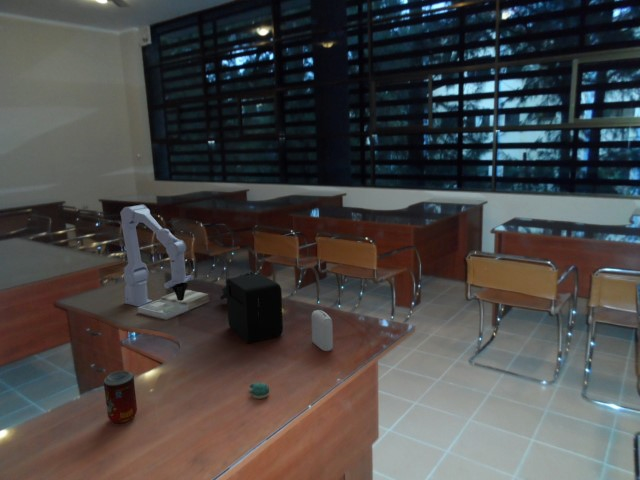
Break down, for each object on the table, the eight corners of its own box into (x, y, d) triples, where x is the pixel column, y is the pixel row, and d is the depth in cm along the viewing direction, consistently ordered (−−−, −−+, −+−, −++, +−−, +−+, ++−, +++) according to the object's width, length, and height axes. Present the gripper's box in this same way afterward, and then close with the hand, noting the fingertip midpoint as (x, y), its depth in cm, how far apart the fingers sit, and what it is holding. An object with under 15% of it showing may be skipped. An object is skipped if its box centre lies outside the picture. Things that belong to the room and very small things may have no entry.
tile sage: (171, 305, 198) (172, 309, 199) (162, 308, 194) (163, 313, 195) (180, 307, 196) (180, 311, 196) (171, 310, 192) (171, 315, 192)
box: (138, 313, 197) (137, 307, 196) (161, 304, 207) (160, 299, 207) (166, 320, 189) (166, 314, 188) (188, 310, 199) (188, 305, 198)
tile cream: (158, 301, 203) (158, 305, 204) (149, 305, 199) (149, 309, 200) (166, 303, 201) (166, 307, 201) (157, 306, 197) (157, 311, 197)
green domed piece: (254, 402, 128) (253, 390, 127) (244, 390, 134) (244, 378, 133) (273, 397, 130) (273, 384, 130) (263, 385, 137) (263, 373, 136)
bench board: (161, 304, 207) (161, 297, 206) (183, 296, 218) (183, 289, 217) (187, 310, 199) (187, 302, 198) (209, 301, 210) (208, 294, 209)
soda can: (103, 420, 120) (98, 376, 118) (129, 408, 126) (124, 366, 123) (116, 430, 116) (111, 385, 114) (143, 417, 121) (138, 374, 119)
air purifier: (286, 336, 171) (284, 284, 167) (248, 345, 163) (246, 291, 159) (263, 319, 188) (261, 271, 184) (228, 327, 180) (225, 277, 176)
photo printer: (310, 341, 166) (309, 308, 164) (321, 339, 168) (320, 306, 165) (323, 352, 157) (322, 317, 155) (334, 350, 159) (334, 315, 156)
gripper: (171, 274, 189) (174, 306, 191) (197, 266, 201) (199, 296, 204) (159, 272, 192) (162, 304, 195) (185, 264, 204) (188, 294, 207)
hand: (180, 300), depth 200 cm, fingers closed
